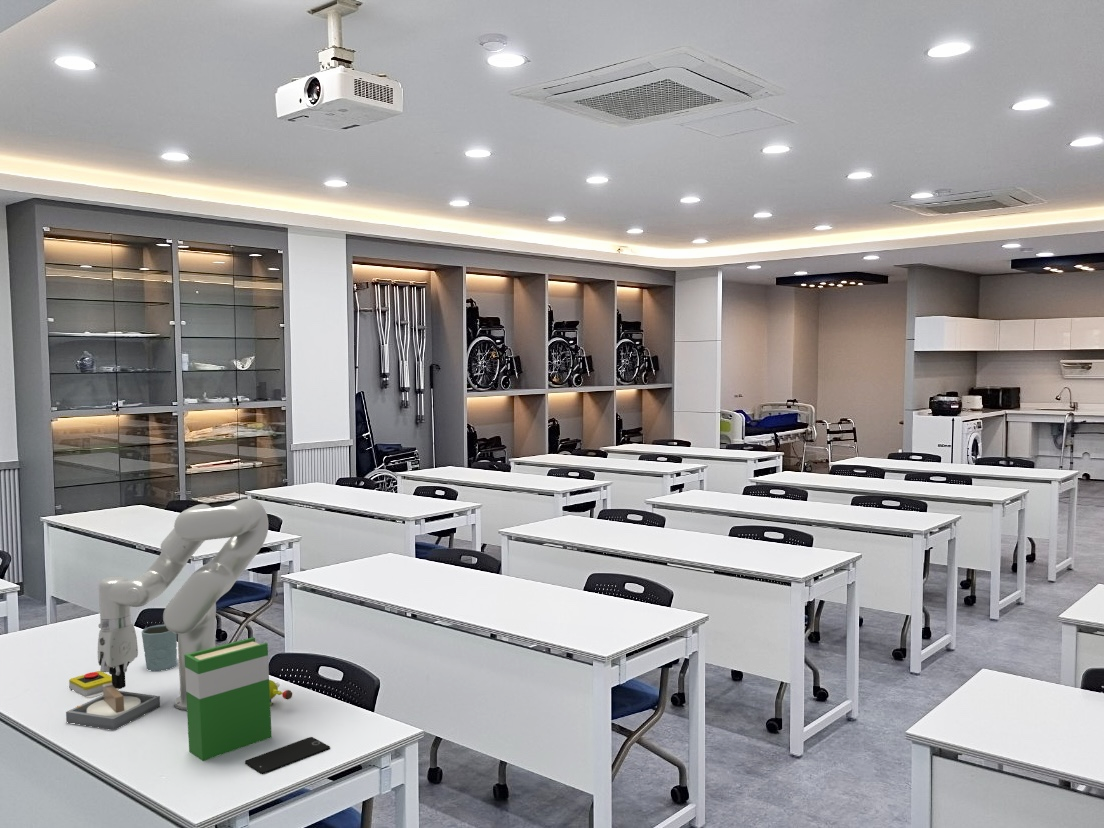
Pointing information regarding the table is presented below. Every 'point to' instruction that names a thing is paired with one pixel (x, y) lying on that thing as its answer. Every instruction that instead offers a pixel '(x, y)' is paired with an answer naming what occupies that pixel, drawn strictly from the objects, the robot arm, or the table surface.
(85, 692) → the emergency button
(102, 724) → the dial housing
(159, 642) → the teal cup
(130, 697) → the dial
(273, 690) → the toy figure
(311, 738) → the cell phone
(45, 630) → the table surface
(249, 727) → the hardback book
